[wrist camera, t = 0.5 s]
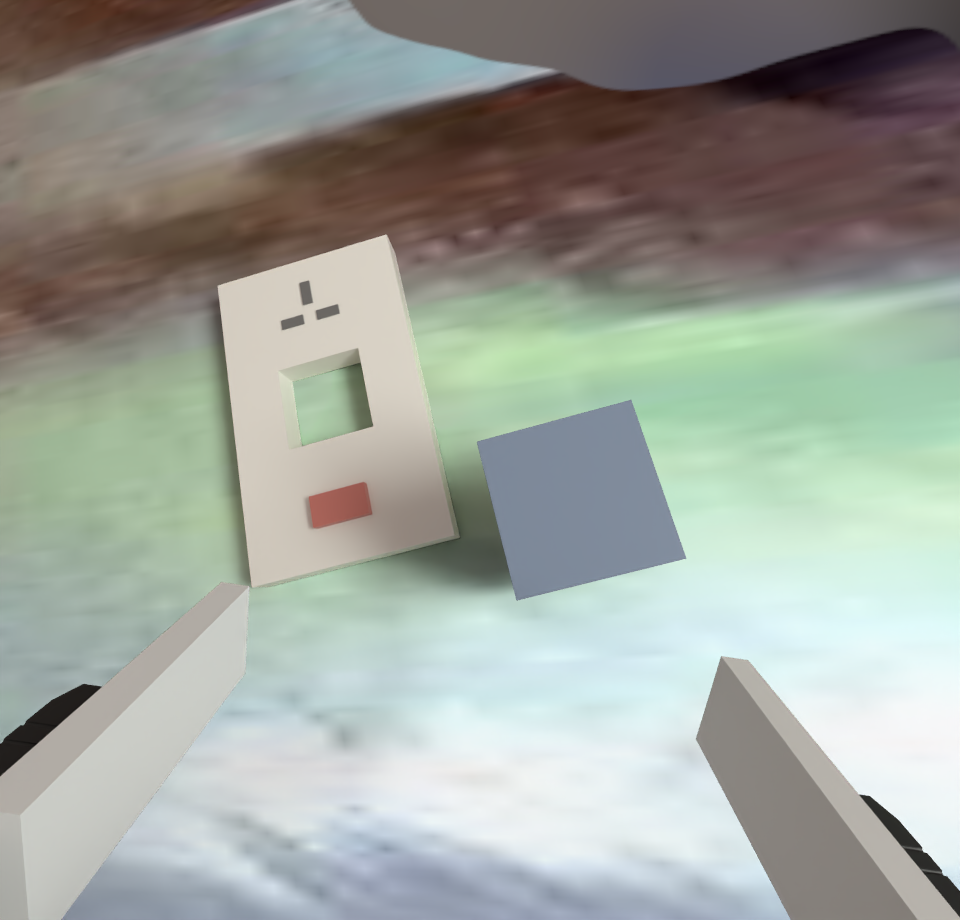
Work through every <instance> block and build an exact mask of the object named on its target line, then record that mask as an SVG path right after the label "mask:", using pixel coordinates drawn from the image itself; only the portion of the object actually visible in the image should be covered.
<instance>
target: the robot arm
mask: <svg viewBox="0 0 960 920" xmlns="http://www.w3.org/2000/svg"><path fill="white" fill-rule="evenodd" d="M248 606H249V586H244V585H238V584H231V583H224V582H221V583H220V584H219V585H218V586H216V587H215V588H214V589H213V590H212V591H211V592H210V593H208V594H207V595H206V596H205V597H204V598H203V599H202V600H201V601H199V602H198V603H197V604H196V605H195V606H194V607H193V608H191V609H190V610H189V611H188V612H187V613H186V614H185V615H183V616H182V617H181V618H180V619H179V620H178V621H177V622H175V623H174V624H173V625H172V626H171V627H170V628H169V629H168V630H166V631H165V632H164V633H163V634H162V635H161V636H160V637H158V638H157V639H156V640H155V641H154V642H153V643H152V644H150V645H149V646H148V647H147V648H146V649H145V650H144V651H142V652H141V653H140V654H139V655H138V656H137V657H136V658H135V659H133V660H132V661H131V662H130V663H129V664H128V665H127V666H125V667H124V668H123V669H122V670H121V671H120V672H119V673H117V674H116V675H115V676H114V677H113V678H112V679H111V680H109V681H108V682H107V683H106V684H105V685H104V686H103V687H100V686H93V685H87V684H83V685H81V686H79V687H77V688H75V689H73V690H71V691H69V692H67V693H65V694H63V695H61V696H59V697H57V698H55V699H53V700H51V701H50V702H49V703H48V704H46V705H45V706H44V707H43V708H41V709H40V710H39V711H38V712H37V713H35V714H34V715H33V716H32V717H30V718H29V719H28V720H27V721H26V723H25V724H24V725H20V726H19V727H18V728H17V729H15V730H14V731H13V732H12V733H11V734H9V735H8V736H7V737H6V738H4V741H3V742H2V743H1V744H0V920H61V919H62V918H63V916H64V915H65V914H66V912H67V911H68V910H69V908H70V907H71V906H72V904H73V903H74V902H75V900H76V899H77V898H78V896H79V895H80V894H81V892H82V891H83V890H84V888H85V887H86V886H87V884H88V883H89V882H90V880H91V879H92V878H93V876H94V875H95V874H96V872H97V871H98V870H99V868H100V867H101V866H102V864H103V863H104V862H105V860H106V859H107V858H108V856H109V855H110V854H111V852H112V851H113V850H114V848H115V847H116V846H117V844H118V843H119V842H120V840H121V839H122V838H123V836H124V835H125V833H126V832H127V831H128V829H129V828H130V827H131V825H132V824H133V823H134V821H135V820H136V819H137V817H138V816H139V815H140V813H141V812H142V811H143V809H144V808H145V807H146V805H147V804H148V803H149V801H150V800H151V799H152V797H153V796H154V795H155V793H156V792H157V791H158V789H159V788H160V787H161V785H162V784H163V783H164V781H165V780H166V779H167V777H168V776H169V775H170V773H171V772H172V771H173V769H174V768H175V767H176V765H177V764H178V763H179V761H180V760H181V759H182V757H183V756H184V755H185V753H186V752H187V751H188V749H189V748H190V747H191V745H192V744H193V743H194V741H195V740H196V739H197V737H198V736H199V735H200V733H201V732H202V731H203V729H204V728H205V727H206V725H207V724H208V723H209V721H210V720H211V719H212V717H213V716H214V714H215V713H216V712H217V710H218V709H219V708H220V706H221V705H222V704H223V702H224V701H225V700H226V698H227V697H228V696H229V694H230V693H231V692H232V690H233V689H234V688H235V686H236V685H237V684H238V682H239V681H240V680H241V678H242V677H243V676H244V674H245V670H246V649H247V627H248ZM696 740H697V742H698V744H699V746H700V747H701V749H702V751H703V753H704V755H705V757H706V759H707V761H708V763H709V765H710V767H711V768H712V770H713V772H714V774H715V776H716V778H717V780H718V782H719V784H720V786H721V787H722V789H723V791H724V793H725V795H726V797H727V799H728V801H729V803H730V805H731V807H732V808H733V810H734V812H735V814H736V816H737V818H738V820H739V822H740V824H741V826H742V827H743V829H744V831H745V833H746V835H747V837H748V839H749V841H750V843H751V845H752V847H753V848H754V850H755V852H756V854H757V856H758V858H759V860H760V862H761V864H762V866H763V868H764V869H765V871H766V873H767V875H768V877H769V879H770V881H771V883H772V885H773V887H774V888H775V890H776V892H777V894H778V896H779V898H780V900H781V902H782V904H783V906H784V908H785V909H786V911H787V913H788V915H789V917H790V919H791V920H960V891H959V890H958V888H957V887H956V886H955V885H954V884H953V883H952V882H951V880H950V879H949V878H948V877H947V876H943V874H942V870H941V869H940V868H939V866H938V865H937V864H936V863H935V862H934V861H933V859H932V858H931V857H930V856H929V855H928V854H927V853H924V852H923V851H922V847H921V846H920V844H919V843H918V842H917V841H916V840H915V839H914V837H913V836H912V835H911V834H910V833H909V832H908V831H907V829H906V828H905V827H904V826H903V825H902V824H901V822H900V821H899V820H898V819H897V818H895V817H894V816H893V815H892V814H890V813H889V812H888V811H887V810H886V809H884V808H883V807H882V806H881V805H880V804H878V803H877V802H876V801H875V800H874V799H872V798H871V797H870V796H865V795H859V794H858V793H857V792H856V791H855V789H854V788H853V787H852V786H851V785H850V783H849V782H848V781H847V780H846V778H845V777H844V776H843V775H842V774H841V772H840V771H839V770H838V769H837V768H836V766H835V765H834V764H833V763H832V761H831V760H830V759H829V758H828V757H827V755H826V754H825V753H824V752H823V751H822V749H821V748H820V747H819V746H818V744H817V743H816V742H815V741H814V740H813V738H812V737H811V736H810V735H809V733H808V732H807V731H806V730H805V729H804V727H803V726H802V725H801V724H800V723H799V721H798V720H797V719H796V718H795V716H794V715H793V714H792V713H791V712H790V710H789V709H788V708H787V707H786V706H785V704H784V703H783V702H782V701H781V699H780V698H779V697H778V696H777V695H776V693H775V692H774V691H773V690H772V689H771V687H770V686H769V685H768V684H767V682H766V681H765V680H764V679H763V678H762V676H761V675H760V674H759V673H758V671H757V670H756V669H755V668H754V667H753V665H752V664H751V663H750V662H749V661H748V660H743V659H736V658H729V657H723V656H721V659H720V662H719V665H718V668H717V672H716V675H715V678H714V682H713V685H712V688H711V691H710V695H709V698H708V701H707V705H706V708H705V711H704V714H703V718H702V721H701V724H700V728H699V731H698V734H697V737H696Z"/></svg>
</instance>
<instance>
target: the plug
mask: <svg viewBox="0 0 960 920" xmlns="http://www.w3.org/2000/svg"><path fill="white" fill-rule="evenodd" d="M477 445H478V449H479V453H480V457H481V461H482V465H483V469H484V472H485V476H486V480H487V484H488V488H489V492H490V496H491V500H492V504H493V508H494V512H495V516H496V520H497V524H498V528H499V532H500V536H501V540H502V544H503V548H504V552H505V556H506V560H507V564H508V568H509V572H510V576H511V580H512V584H513V588H514V592H515V596H516V600H521V599H525V598H529V597H533V596H537V595H541V594H545V593H549V592H553V591H557V590H561V589H565V588H569V587H573V586H577V585H581V584H585V583H589V582H593V581H597V580H601V579H605V578H609V577H613V576H617V575H622V574H626V573H630V572H634V571H638V570H642V569H646V568H650V567H654V566H658V565H662V564H666V563H670V562H674V561H678V560H682V559H686V556H685V554H684V551H683V548H682V545H681V542H680V539H679V536H678V533H677V530H676V528H675V525H674V522H673V519H672V516H671V513H670V510H669V507H668V505H667V502H666V499H665V496H664V493H663V490H662V487H661V484H660V482H659V479H658V476H657V473H656V470H655V467H654V464H653V461H652V458H651V456H650V453H649V450H648V447H647V444H646V441H645V438H644V435H643V433H642V430H641V427H640V424H639V421H638V418H637V415H636V412H635V410H634V407H633V404H632V401H631V400H629V401H625V402H622V403H618V404H614V405H610V406H607V407H603V408H599V409H596V410H592V411H588V412H585V413H581V414H577V415H574V416H570V417H566V418H562V419H559V420H555V421H551V422H548V423H544V424H540V425H537V426H533V427H529V428H526V429H522V430H518V431H514V432H511V433H507V434H503V435H500V436H496V437H492V438H489V439H485V440H481V441H478V442H477Z"/></svg>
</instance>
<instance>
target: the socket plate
mask: <svg viewBox="0 0 960 920" xmlns="http://www.w3.org/2000/svg"><path fill="white" fill-rule="evenodd" d="M218 292H219V301H220V310H221V319H222V328H223V337H224V345H225V354H226V363H227V372H228V381H229V390H230V399H231V408H232V417H233V425H234V434H235V443H236V452H237V461H238V470H239V479H240V488H241V496H242V505H243V514H244V523H245V532H246V541H247V550H248V559H249V568H250V576H251V585H252V587H271V586H275V585H279V584H283V583H286V582H290V581H294V580H298V579H302V578H306V577H310V576H314V575H317V574H321V573H325V572H329V571H333V570H337V569H341V568H345V567H348V566H352V565H356V564H360V563H364V562H368V561H372V560H376V559H379V558H383V557H387V556H391V555H395V554H399V553H403V552H407V551H410V550H414V549H418V548H422V547H426V546H430V545H434V544H437V543H441V542H445V541H449V540H453V539H457V538H460V535H459V531H458V527H457V522H456V518H455V514H454V509H453V505H452V500H451V496H450V492H449V487H448V483H447V479H446V474H445V470H444V465H443V461H442V457H441V452H440V448H439V444H438V439H437V435H436V430H435V426H434V422H433V417H432V413H431V409H430V404H429V400H428V395H427V391H426V387H425V382H424V378H423V374H422V369H421V365H420V360H419V356H418V352H417V347H416V343H415V339H414V334H413V330H412V325H411V321H410V317H409V312H408V308H407V304H406V299H405V295H404V290H403V286H402V282H401V277H400V273H399V269H398V264H397V260H396V255H395V252H394V250H393V247H392V245H391V243H390V241H389V239H388V237H387V235H383V236H380V237H377V238H374V239H370V240H367V241H364V242H360V243H357V244H354V245H350V246H347V247H344V248H341V249H337V250H334V251H331V252H327V253H324V254H321V255H317V256H314V257H311V258H308V259H304V260H301V261H298V262H294V263H291V264H288V265H285V266H281V267H278V268H275V269H271V270H268V271H265V272H261V273H258V274H255V275H252V276H248V277H245V278H242V279H238V280H235V281H232V282H228V283H225V284H222V285H219V286H218ZM358 363H361V365H362V371H363V376H364V381H365V386H366V391H367V396H368V402H369V407H370V412H371V417H372V422H373V427H370V428H366V429H362V430H359V431H355V432H351V433H348V434H344V435H341V436H337V437H333V438H330V439H326V440H323V441H319V442H315V443H312V444H308V445H305V446H302V442H301V436H300V429H299V422H298V416H297V409H296V403H295V396H294V389H293V383H292V382H295V381H298V380H302V379H305V378H309V377H312V376H316V375H319V374H323V373H326V372H330V371H333V370H337V369H340V368H344V367H347V366H351V365H354V364H358Z"/></svg>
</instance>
